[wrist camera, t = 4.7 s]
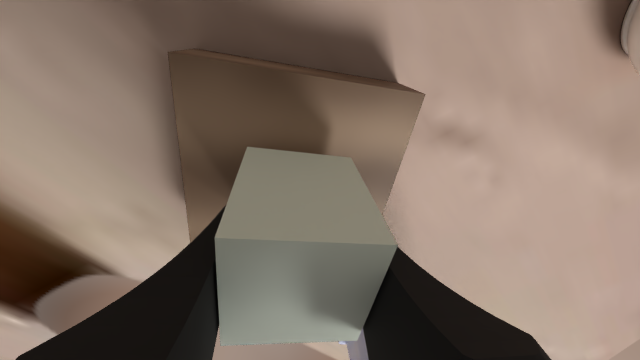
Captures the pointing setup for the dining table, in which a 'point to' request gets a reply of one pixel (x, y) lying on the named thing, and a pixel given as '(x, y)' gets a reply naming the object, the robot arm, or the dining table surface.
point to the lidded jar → (632, 34)
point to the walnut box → (281, 122)
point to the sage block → (298, 250)
